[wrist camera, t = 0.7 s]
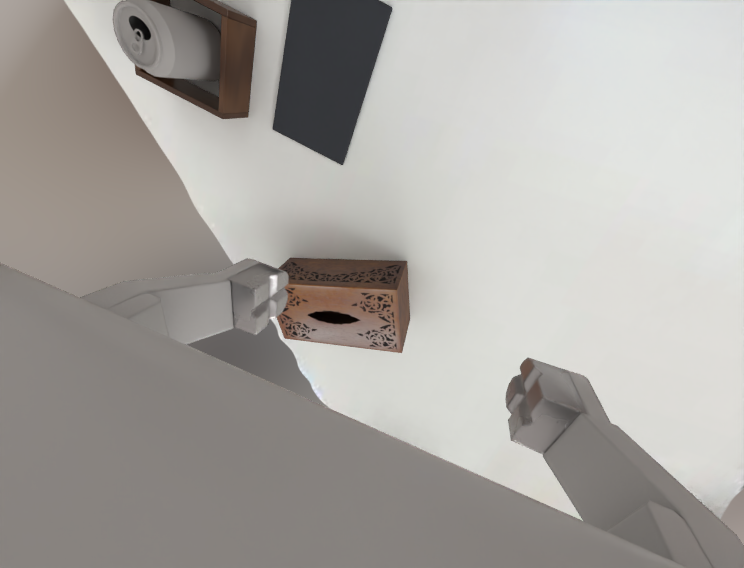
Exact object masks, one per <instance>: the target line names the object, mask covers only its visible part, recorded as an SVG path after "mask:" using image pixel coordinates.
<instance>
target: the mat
mask: <svg viewBox="0 0 744 568" xmlns="http://www.w3.org/2000/svg"><path fill="white" fill-rule="evenodd" d="M391 11H392V7H390V6H388V5H386V4H384V3H383V2H381V1H379V0H291V7H290V14H289V21H288V28H287V34H286V41H285V48H284V55H283V62H282V69H281V76H280V82H279V89H278V96H277V103H276V110H275V117H274V124H273V130H275V131H277V132H279V133H281V134H283V135H285V136H287V137H289V138H291V139H293V140H294V141H296V142H298V143H300V144H302V145H304V146H306V147H308V148H310V149H312V150H314V151H316V152H318V153H320V154H322V155H323V156H325V157H327V158H329V159H331V160H333V161H335V162H337V163H339V164H341V165H343V163H344V160H345V157H346V154H347V151H348V147H349V144H350V141H351V138H352V135H353V132H354V128H355V125H356V122H357V119H358V116H359V113H360V109H361V106H362V103H363V100H364V97H365V94H366V90H367V87H368V84H369V81H370V78H371V75H372V71H373V68H374V65H375V62H376V59H377V56H378V52H379V49H380V46H381V43H382V40H383V37H384V33H385V30H386V27H387V24H388V21H389V18H390V14H391Z"/></svg>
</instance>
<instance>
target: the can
mask: <svg viewBox="0 0 744 568" xmlns="http://www.w3.org/2000/svg"><path fill="white" fill-rule="evenodd" d="M113 25H114V31H115V34H116V37H117V40H118V42H119V44H120V46H121V48H122V50H123V51H124V53H125V54H126V55H127V57H128V58H129V59H130V60H131V61H132V62H133V63H134V64H135V65H136V66H138V67H140V68H142V69H143V70H145V71H146V72H148V73H149V74H151V75H153V76H155V77H165V78H178V79H191V80H203V81H217V80H219V79H220V52H221V35H220V33H219V32H218V30H217V28H216V27H215V26H214V25H213V24H212V23H211V22H210V21H208V20H206V19H205V18H203V17H200V16H197V15H194V14H191V13H188V12H184V11H181V10H178V9H175V8H172V7H169V6H166V5H163V4H160V3H156V2H153V1H150V0H125V1H121V2H119V3H118V4H117V5H116V7H115V9H114V12H113Z"/></svg>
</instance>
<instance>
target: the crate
mask: <svg viewBox="0 0 744 568" xmlns="http://www.w3.org/2000/svg"><path fill="white" fill-rule="evenodd" d="M150 1H153V2H156V3H160V4H163V5H166V6H169V7H170V0H150ZM194 1H196V2H198V3H200V4H202V5H204V6H206V7H208V8H210V9H212V10H213V11H215V12H217V13H219V14H221V15H222V20H221V52H220V83H219V97H218V96H216V95H214V94H212V93H210V92H208V91H206V90H204V89H202V88H200V87H198V86H196V85H195V84H193V83H191V82H189V81H187V80H185V79H178V78H165V77H155V76H153V75H151V74H149V73H148V72H146V71H145V70H143V69H142V68H140V67H138V66H136V65H135V71H136V75H138V76H140V77H142V78H144V79H146V80H148V81H150V82H152V83H154V84H156V85H158V86H160V87H162V88H164V89H165V90H167V91H169V92H171V93H173V94H175V95H177V96H179V97H181V98H183V99H185V100H187V101H189V102H191V103H193V104H195V105H196V106H198V107H200V108H202V109H204V110H206V111H208V112H210V113H212V114H214V115H216V116H218V117H220V118H222V119H232V118H245V117H248V112H249V101H250V90H251V79H252V69H253V58H254V47H255V36H256V24H257V21H256V20H254V19H252V18H251V17H249V16H247V15H245V14H243V13H241V12H239V11H237V10H235V9H233V8H231V7H229V6H228V5H226V4H224V3H222V2H220V1H218V0H194Z"/></svg>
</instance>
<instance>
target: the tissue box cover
mask: <svg viewBox="0 0 744 568" xmlns="http://www.w3.org/2000/svg"><path fill="white" fill-rule="evenodd" d="M278 269H280V270H283V271H285V272H287V274H288V275H289V277H288V284H287V285H286V286H285V287H284V288H285V289H286V291H287V293H288V300H287V304H286V307H285V308H284V310H283V312H282V313H281V314H280V315H279V316H278V317H277V320H278V322H279V325H280V328H281V330H282V333H283V335H284V338H285V339H293V340H301V341H310V342H318V343H326V344H334V345H342V346H350V347H358V348H366V349H374V350H382V351H391V352H399V353H402V350H403V346H404V342H405V338H406V334H407V329H408V325H409V321H410V311H409V291H408V271H407V261H383V260H346V259H309V258H289V259H288V260H287V261H286V262H285V263H284V264H283V265H282V266H281V267H280V268H278Z"/></svg>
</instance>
